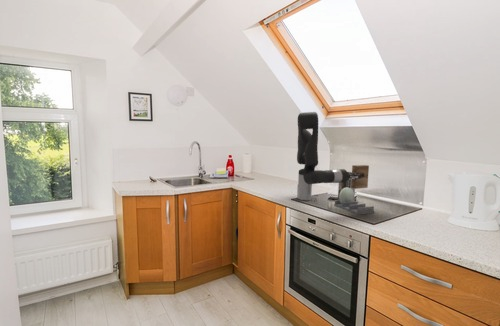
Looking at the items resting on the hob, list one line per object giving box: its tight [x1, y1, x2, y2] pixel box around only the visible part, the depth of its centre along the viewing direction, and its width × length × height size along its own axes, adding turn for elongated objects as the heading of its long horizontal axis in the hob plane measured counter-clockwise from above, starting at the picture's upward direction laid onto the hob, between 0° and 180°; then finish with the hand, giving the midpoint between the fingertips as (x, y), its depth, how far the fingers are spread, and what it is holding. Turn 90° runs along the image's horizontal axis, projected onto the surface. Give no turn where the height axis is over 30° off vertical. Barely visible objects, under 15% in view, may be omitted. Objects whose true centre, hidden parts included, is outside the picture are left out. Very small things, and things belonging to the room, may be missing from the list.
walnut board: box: [351, 164, 370, 190], centre depth 164 cm, size 4×9×13 cm, turn 112°
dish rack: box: [333, 199, 375, 215], centre depth 172 cm, size 21×12×4 cm, turn 23°
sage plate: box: [339, 187, 355, 203], centre depth 177 cm, size 1×11×11 cm, turn 113°
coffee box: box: [337, 179, 356, 202], centre depth 191 cm, size 9×6×16 cm
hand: (361, 174), depth 164 cm, fingers closed on walnut board, 3 cm apart
